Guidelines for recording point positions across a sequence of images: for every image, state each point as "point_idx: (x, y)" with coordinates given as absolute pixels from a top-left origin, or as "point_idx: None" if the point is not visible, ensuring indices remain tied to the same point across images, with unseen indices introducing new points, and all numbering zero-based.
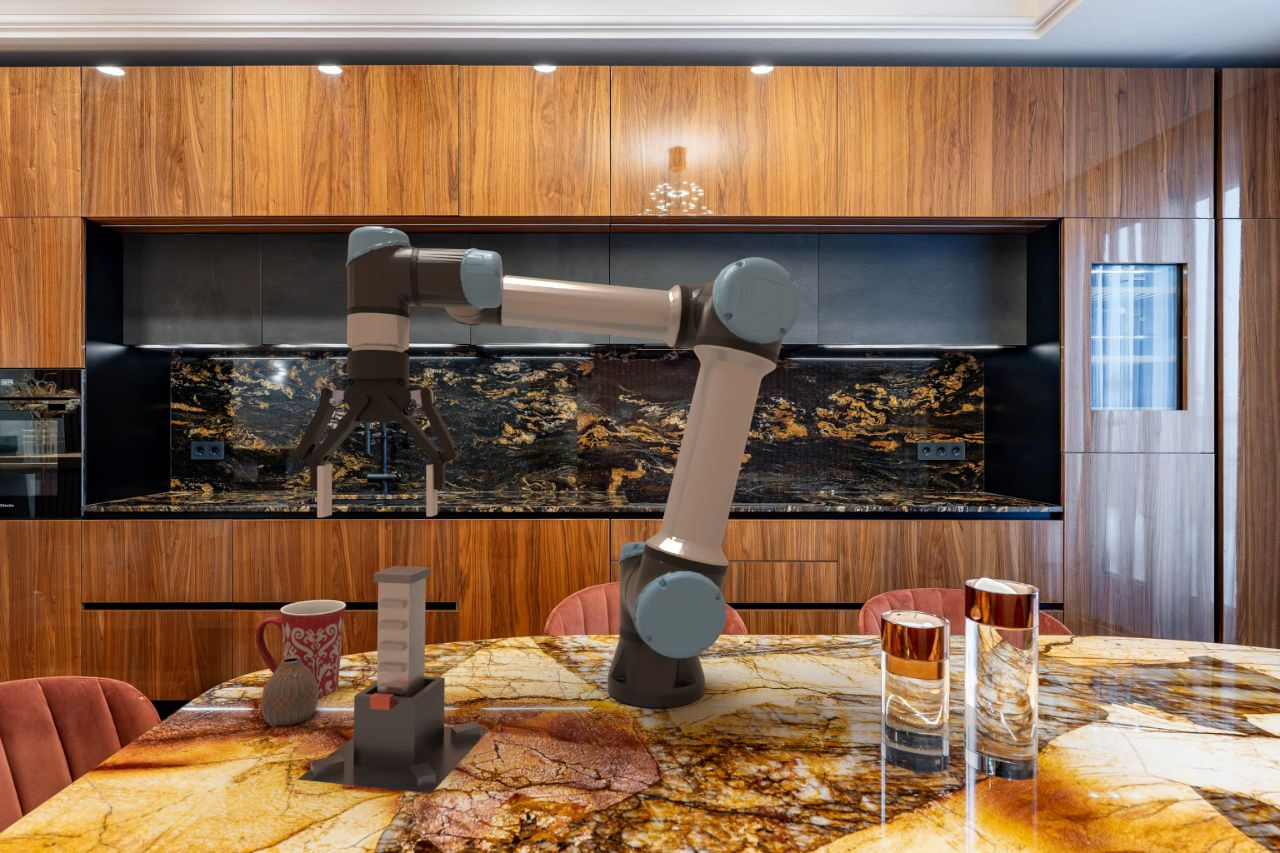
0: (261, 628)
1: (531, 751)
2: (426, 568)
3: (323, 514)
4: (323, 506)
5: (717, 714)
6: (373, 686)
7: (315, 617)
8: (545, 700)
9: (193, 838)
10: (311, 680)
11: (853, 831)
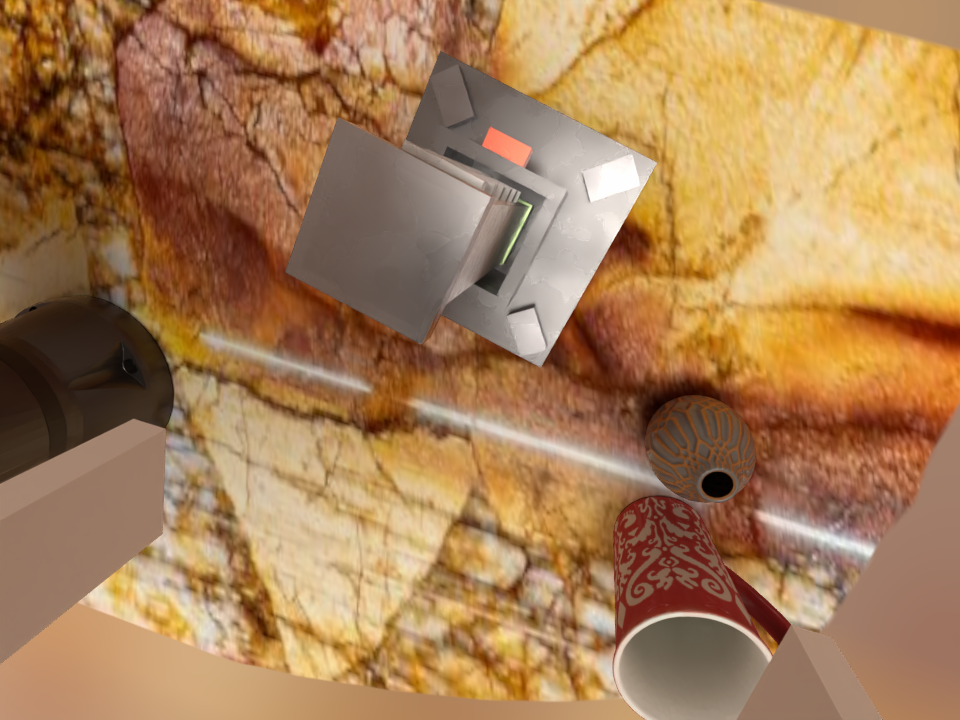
0: None
1: (295, 198)
2: (297, 257)
3: (798, 643)
4: (825, 695)
5: (20, 251)
6: (529, 240)
7: (683, 606)
8: (271, 389)
9: (804, 25)
10: (664, 447)
11: None
